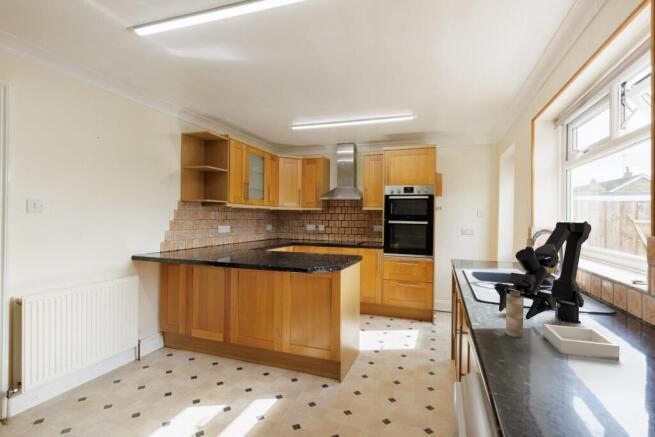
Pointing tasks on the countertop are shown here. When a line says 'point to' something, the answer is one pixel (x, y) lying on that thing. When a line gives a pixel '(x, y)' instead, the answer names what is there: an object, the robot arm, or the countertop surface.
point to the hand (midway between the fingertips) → (512, 314)
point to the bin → (581, 342)
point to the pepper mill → (514, 314)
